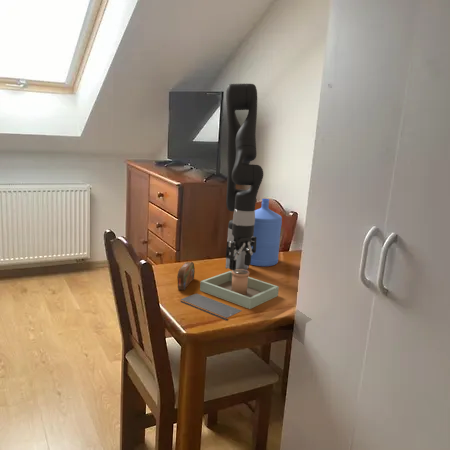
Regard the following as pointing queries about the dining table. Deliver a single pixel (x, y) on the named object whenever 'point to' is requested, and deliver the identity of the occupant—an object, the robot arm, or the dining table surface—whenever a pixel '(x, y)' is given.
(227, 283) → the pale green tray
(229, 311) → the slate tile
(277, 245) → the water jug
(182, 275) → the tin
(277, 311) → the dining table surface
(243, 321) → the dining table surface
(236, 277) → the clay pot
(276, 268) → the dining table surface
